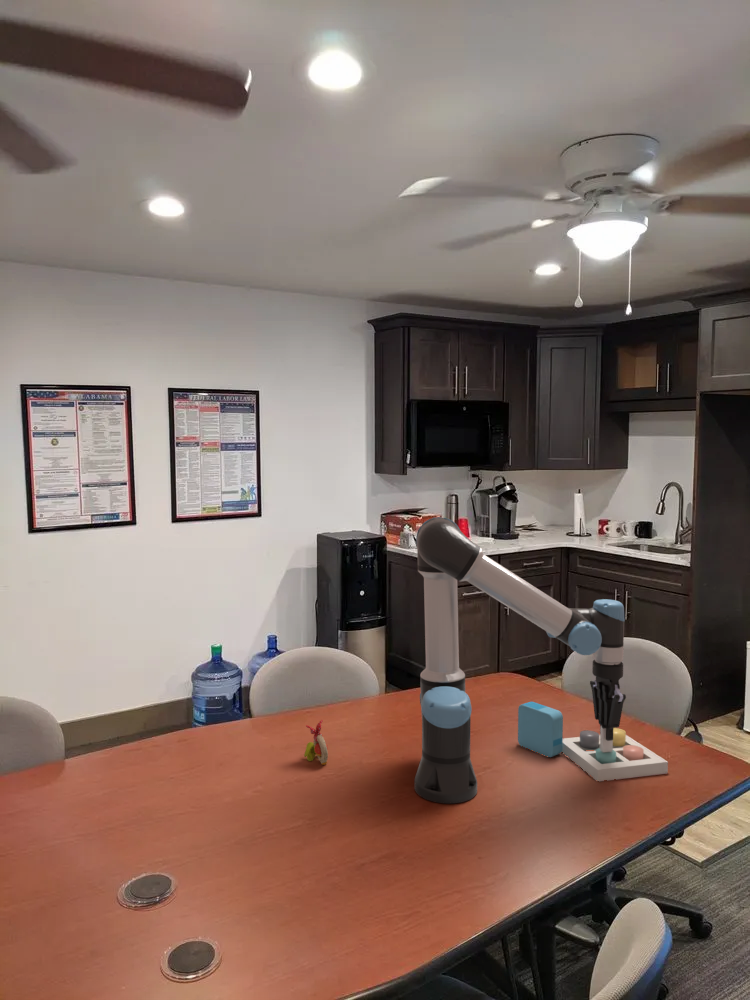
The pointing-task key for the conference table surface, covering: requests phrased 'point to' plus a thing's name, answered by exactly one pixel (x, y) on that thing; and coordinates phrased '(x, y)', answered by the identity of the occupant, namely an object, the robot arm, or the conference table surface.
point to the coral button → (633, 752)
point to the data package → (540, 728)
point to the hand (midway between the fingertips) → (606, 750)
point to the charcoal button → (589, 739)
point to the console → (621, 767)
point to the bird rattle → (317, 746)
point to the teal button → (605, 756)
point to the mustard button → (619, 737)
